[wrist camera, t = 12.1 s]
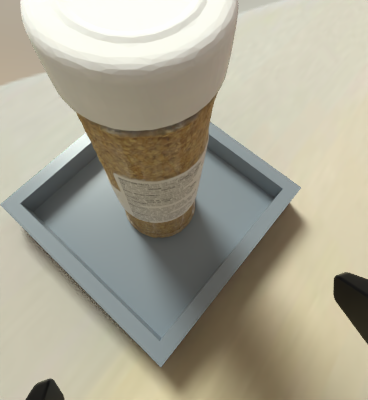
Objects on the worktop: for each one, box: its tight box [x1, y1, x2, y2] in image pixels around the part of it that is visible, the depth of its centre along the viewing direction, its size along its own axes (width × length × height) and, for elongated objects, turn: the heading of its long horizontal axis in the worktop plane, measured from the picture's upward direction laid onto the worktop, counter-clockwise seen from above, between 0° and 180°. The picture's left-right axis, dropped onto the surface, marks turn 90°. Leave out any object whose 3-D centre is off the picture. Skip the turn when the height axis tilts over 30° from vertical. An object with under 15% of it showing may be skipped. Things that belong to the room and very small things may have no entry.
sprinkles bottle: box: [21, 0, 238, 238], centre depth 12 cm, size 5×5×13 cm
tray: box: [0, 122, 301, 367], centre depth 18 cm, size 13×13×2 cm
